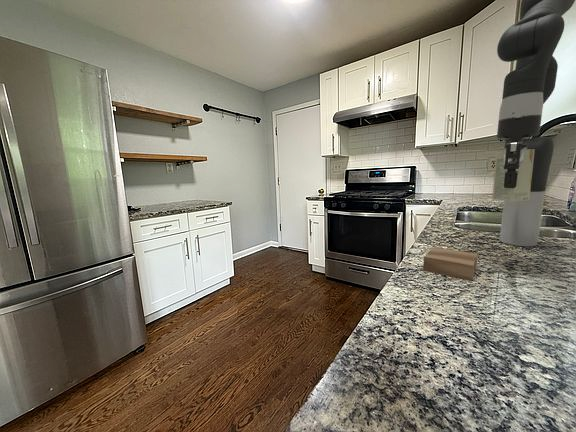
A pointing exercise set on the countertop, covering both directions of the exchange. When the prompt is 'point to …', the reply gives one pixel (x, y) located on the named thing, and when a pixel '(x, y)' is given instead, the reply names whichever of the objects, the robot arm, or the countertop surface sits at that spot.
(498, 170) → the skincare box
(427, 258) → the walnut block
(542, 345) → the countertop surface
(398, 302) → the countertop surface
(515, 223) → the robot arm
